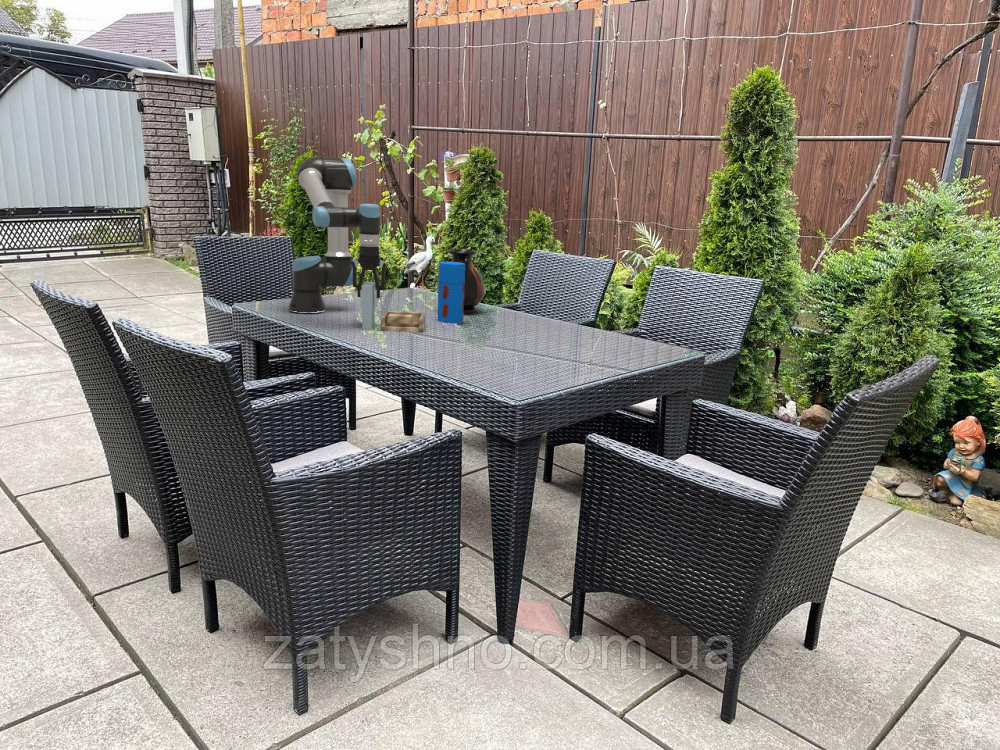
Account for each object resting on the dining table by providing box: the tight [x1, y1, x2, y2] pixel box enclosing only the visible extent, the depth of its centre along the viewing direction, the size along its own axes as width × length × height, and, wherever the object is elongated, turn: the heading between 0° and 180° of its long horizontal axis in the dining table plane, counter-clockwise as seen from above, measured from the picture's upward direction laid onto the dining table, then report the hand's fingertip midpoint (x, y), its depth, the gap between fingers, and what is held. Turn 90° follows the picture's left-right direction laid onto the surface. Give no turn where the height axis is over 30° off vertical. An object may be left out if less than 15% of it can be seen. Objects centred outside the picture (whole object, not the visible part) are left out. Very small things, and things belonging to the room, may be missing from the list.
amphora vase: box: [436, 248, 485, 315], centre depth 336 cm, size 22×22×28 cm
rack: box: [380, 310, 426, 333], centre depth 290 cm, size 16×15×6 cm
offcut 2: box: [387, 321, 419, 328], centre depth 288 cm, size 12×5×3 cm, turn 93°
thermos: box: [437, 261, 465, 326], centre depth 309 cm, size 11×11×25 cm
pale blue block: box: [361, 281, 376, 330], centre depth 288 cm, size 11×4×17 cm, turn 3°
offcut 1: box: [388, 314, 413, 324], centre depth 287 cm, size 9×5×3 cm, turn 93°
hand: (368, 306), depth 288 cm, fingers open, 5 cm apart
